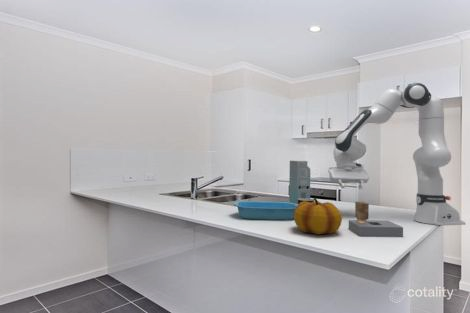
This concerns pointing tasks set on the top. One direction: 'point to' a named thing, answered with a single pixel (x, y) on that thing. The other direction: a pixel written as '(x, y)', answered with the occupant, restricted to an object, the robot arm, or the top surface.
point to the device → (299, 181)
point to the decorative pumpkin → (317, 217)
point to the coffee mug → (305, 200)
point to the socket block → (375, 228)
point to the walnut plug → (361, 210)
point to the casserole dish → (266, 210)
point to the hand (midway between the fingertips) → (352, 187)
